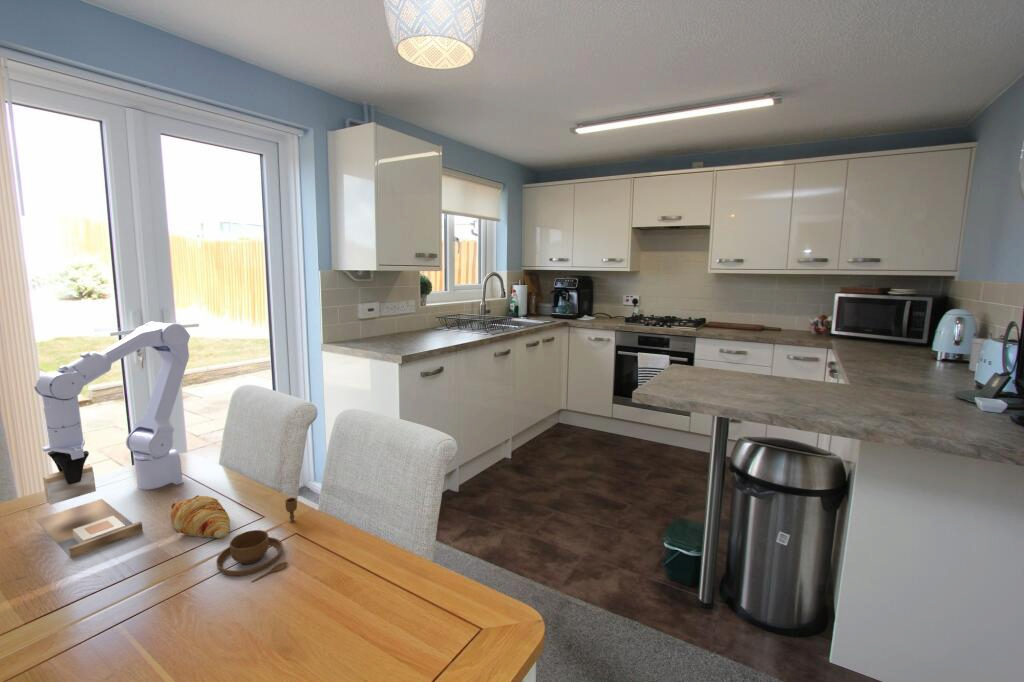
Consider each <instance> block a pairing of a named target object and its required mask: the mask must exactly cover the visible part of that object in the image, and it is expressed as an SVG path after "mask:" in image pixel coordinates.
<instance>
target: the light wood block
mask: <svg viewBox="0 0 1024 682" xmlns="http://www.w3.org/2000/svg"><path fill="white" fill-rule="evenodd" d="M42 479H43V485H44V493H45V500H46V503H48V504H49V505H50V506H51V505H55V504H59V503H62V502H64V501H67V500H71V499H74V498H79V497H81V496H82V497H83V496H85V495H87V494H91V493H94V492H96V491H97V488H96V480H95V473H94V468H93V466H92V465H90V464H84V466H83V471H82V478H81V482H78V483H74V484H71V485H69V484H68V483H67V481H66V479H65V476H64V473H63V471H61V472H59V471H57V472H53V473H50V474H46V475H42Z"/></svg>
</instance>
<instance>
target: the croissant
mask: <svg viewBox="0 0 1024 682" xmlns="http://www.w3.org/2000/svg"><path fill="white" fill-rule="evenodd" d="M170 518H171V524H172V526H173V529H174V530H175V531H176V533H180V534H182V535H184V536H191V537H200V538H206V537H208V538H211V537H212V538H213V539H222V538H225V537H226V536H227V535H228V534H230V528H231V525H230V522H231V519H230V515H229V514H228V512H227V511H226V510H225V508H224V507H223V505H222V504H221V503H220V502H219V500H218V499H217V498H214V497H212V496H208V495H196V496H194V497H193V498H190V499H187V500H181V501H177V502H173V503H172V505H171V513H170Z"/></svg>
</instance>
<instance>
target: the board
mask: <svg viewBox="0 0 1024 682" xmlns="http://www.w3.org/2000/svg"><path fill="white" fill-rule="evenodd" d="M111 516H114V517H115V518H117V519H118V520H119V521H120V522H122V523H123V524H124V525H125V527H124V528H121V529H118V530H115V531H113V532H110V533H107V534H104V535H102V536H99V537H96V538H93V539H90V540H88V541H85V542H82V543H78V542H77V541H76V540H75V539H74V536H73V529H75V528H78V527H81V526H84V525H87V524H90V523H93V522H96V521H99V520H102V519H105V518H108V517H111ZM35 520H36V522H38V524H39V525H40V526H41V527H42V528H43V529H44V530H45V531H46V532H47V534H48V535H49V536H50V537H51V538H52V539H53V540H54V541H55V542H56V544H58V545H59V547H60V548H61V549H62V550H63V551H64V552H65V554H67V555H68V556H69V558H70V559H74V558H77V557H79V556H81V555H84V554H89V553H90V552H92V551H95V550H99V549H100V548H103V547H106V546H108V545H111V544H113V543H114V544H115V543H116V542H119V541H123V540H124V539H127V538H131V537H132V536H134V535H135V536H136V535H138V534H140V533H143V532H144V528H143V522H141V521H138V522H135V523H133V522H132V521H130V519H128V518H127V517H126V516H124V515H123V514H122V513H121V512H119V511H118V510H117V509H116V508H114V507H113V506H112V505H111V504H109V503H108V502H106V501H105V500H104V499H103V498H100V499H97V500H93V501H91V502H88V503H84V504H81V505H78V506H75V507H72V508H69V509H65V510H61V511H59V512H55V513H52V514H49V515H45V516H43V517H39V518H36V519H35Z"/></svg>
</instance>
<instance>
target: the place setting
mask: <svg viewBox="0 0 1024 682" xmlns="http://www.w3.org/2000/svg"><path fill="white" fill-rule="evenodd" d="M284 504H285V510H286V512H287V513H289V520H290V521H288V523H289V524H294V523H296V520H295V513H294V512H296V510H297V508H298V499H297V498H296V497H290V498H289V497H288V498H286V499H285V501H284ZM269 547H273V548H275V550H276V551H277V554H276V555H275V556H274V557H272V558H271V559H270V560H268V561H267V562H264V563H263V564H260V565H258V566H255V567H252V568H249V569H248V568H247V569H242V570H232V569H226V568H224V567H223V565H224V562H225V561H226V560H227V559H228V558H229V557H230V556H231V558H232V559H233V560H234V561H235V562H237V563H241V564H243V565H250V564H253V563H256V562H257V561H260V559H261V558H262V557H263V556H265V554H266V553H267V552H268V549H269ZM283 549H284V547H283V543H282V542H281V541H280V540H279V539H278V538H275V537H272V536H271V537H270V536H269V533H268V532H266V531H265V530H261V529H254V530H253V529H252V530H248V531H247V530H246V531H245V532H242V533H239V534H238V535H236V536H234V537H233V538H232V539H231V540H230V542H229V546H228V547H227V548H225V549H223V551H222V552H221V553H220V554H218V556H217V558H216V560H215V561H216V567H217V570H218V571H220V572H221V573H222V574H224V575H228V576H231V577H232V576H233V577H241V576H243V577H244V576H248V575H253V574H256V573H258V572H261V571H264V570H266V569H268V568H269V567H271V566H272V565H273V564H275V563H276V562H277V560H278V559H279V558H280V557H281V556H282V553H283ZM288 564H289V562H288V561H284V562H280V563H278V564H276V565H274V566H273V567H272V568H271V569H270V570H269V571H267V572H265V573H264V574H261V575H260V576H259V577H257V578H255V579H252V580H251V581H250V583H251V584H252V583H255V582H258V581H259V580H260V579H262V578H265V577H266V576H267V575H269V574H272V573H277V572H279V571H281V570H283V569H284V568H286V567H287V565H288Z"/></svg>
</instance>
